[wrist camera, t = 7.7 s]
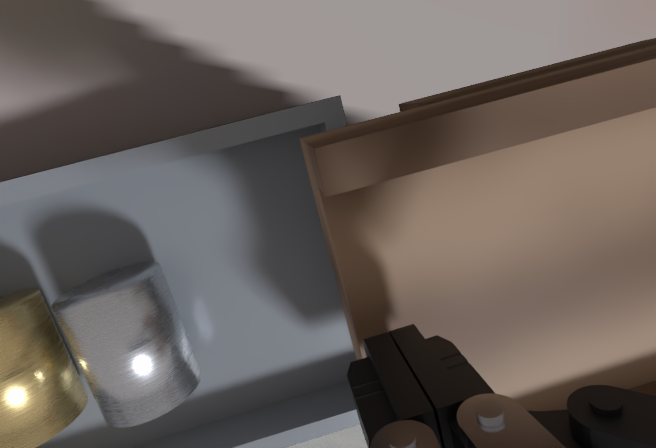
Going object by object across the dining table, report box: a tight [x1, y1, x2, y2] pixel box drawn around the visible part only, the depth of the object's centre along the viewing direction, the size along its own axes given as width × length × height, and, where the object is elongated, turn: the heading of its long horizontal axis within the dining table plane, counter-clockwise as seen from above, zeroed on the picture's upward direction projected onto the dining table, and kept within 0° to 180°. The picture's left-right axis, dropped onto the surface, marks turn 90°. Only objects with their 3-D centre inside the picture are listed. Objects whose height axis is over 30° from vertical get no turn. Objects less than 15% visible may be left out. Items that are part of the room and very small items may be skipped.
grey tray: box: [0, 96, 360, 448], centre depth 19 cm, size 14×18×3 cm
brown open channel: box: [299, 38, 656, 411], centre depth 17 cm, size 12×17×10 cm
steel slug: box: [51, 262, 202, 428], centre depth 18 cm, size 5×4×4 cm
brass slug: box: [0, 289, 88, 448], centre depth 18 cm, size 5×4×4 cm
